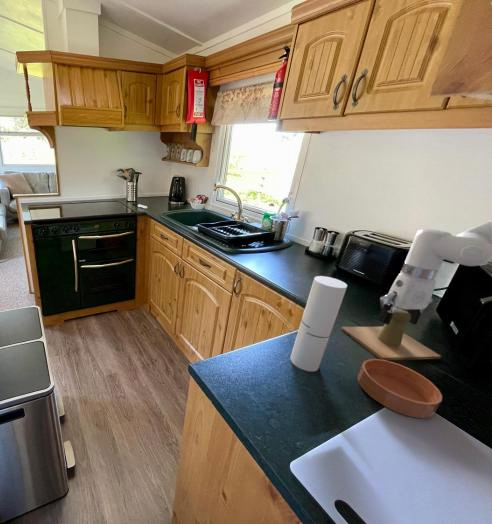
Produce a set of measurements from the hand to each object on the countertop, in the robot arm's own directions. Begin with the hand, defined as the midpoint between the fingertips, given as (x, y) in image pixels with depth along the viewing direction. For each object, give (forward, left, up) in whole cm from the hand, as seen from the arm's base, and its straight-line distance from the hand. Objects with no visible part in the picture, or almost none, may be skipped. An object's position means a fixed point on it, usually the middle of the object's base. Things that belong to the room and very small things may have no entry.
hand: (396, 322), depth 90 cm
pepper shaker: (0, 0, -7) cm, 7 cm away
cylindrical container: (+35, +8, -8) cm, 37 cm away
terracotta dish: (+19, +20, -8) cm, 29 cm away
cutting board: (0, 0, -8) cm, 8 cm away
